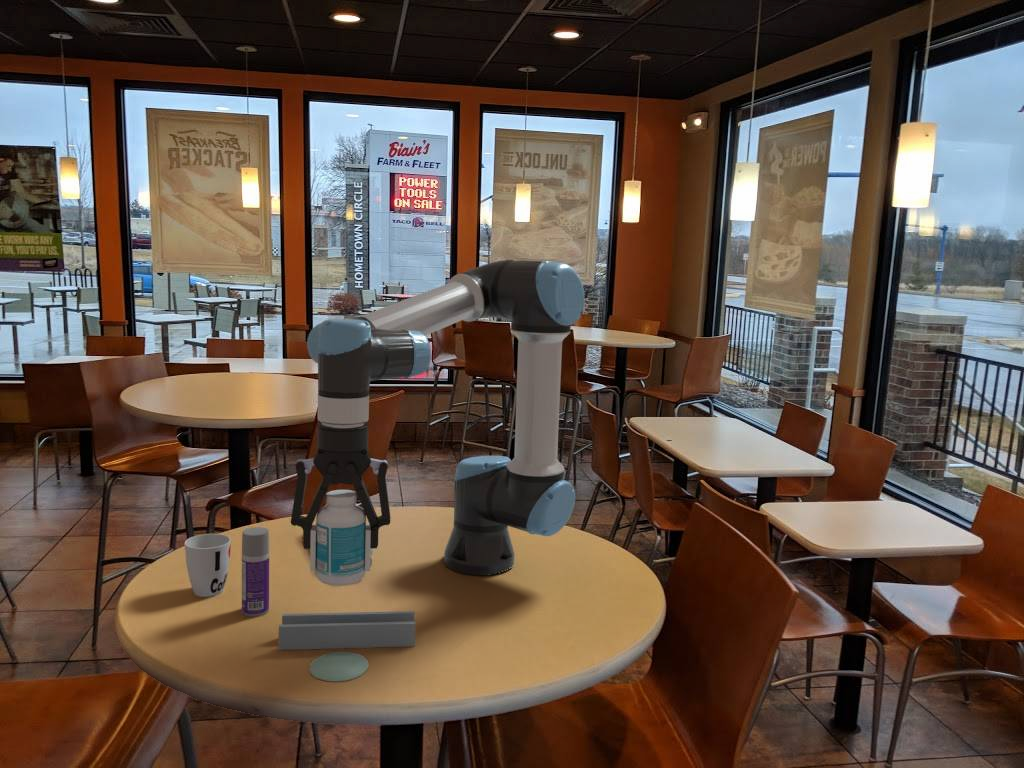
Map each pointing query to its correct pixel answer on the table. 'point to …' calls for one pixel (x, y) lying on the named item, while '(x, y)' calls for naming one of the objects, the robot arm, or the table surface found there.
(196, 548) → the cup
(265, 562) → the container
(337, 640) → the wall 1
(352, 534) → the pill bottle
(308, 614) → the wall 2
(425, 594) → the table surface
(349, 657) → the spot
